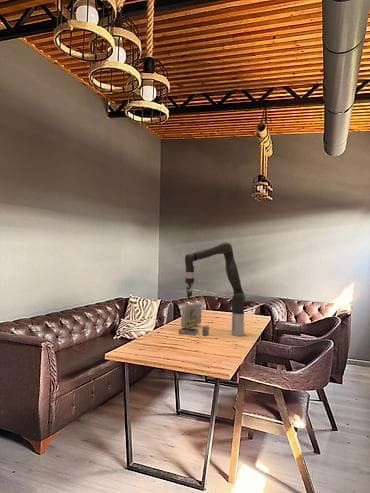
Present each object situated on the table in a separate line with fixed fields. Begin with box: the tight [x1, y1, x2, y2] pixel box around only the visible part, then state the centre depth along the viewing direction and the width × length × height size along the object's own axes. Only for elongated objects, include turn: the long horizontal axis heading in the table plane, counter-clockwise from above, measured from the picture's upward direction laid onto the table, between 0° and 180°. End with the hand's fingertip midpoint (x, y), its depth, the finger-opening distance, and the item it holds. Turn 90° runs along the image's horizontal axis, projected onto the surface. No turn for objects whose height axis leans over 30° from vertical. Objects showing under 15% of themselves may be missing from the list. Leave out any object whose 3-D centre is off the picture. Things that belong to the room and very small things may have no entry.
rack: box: [178, 327, 199, 336], centre depth 312 cm, size 13×10×3 cm
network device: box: [180, 302, 202, 329], centre depth 334 cm, size 26×9×20 cm, turn 146°
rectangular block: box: [201, 325, 210, 337], centre depth 307 cm, size 3×6×7 cm, turn 157°
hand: (189, 296), depth 326 cm, fingers open, 8 cm apart
